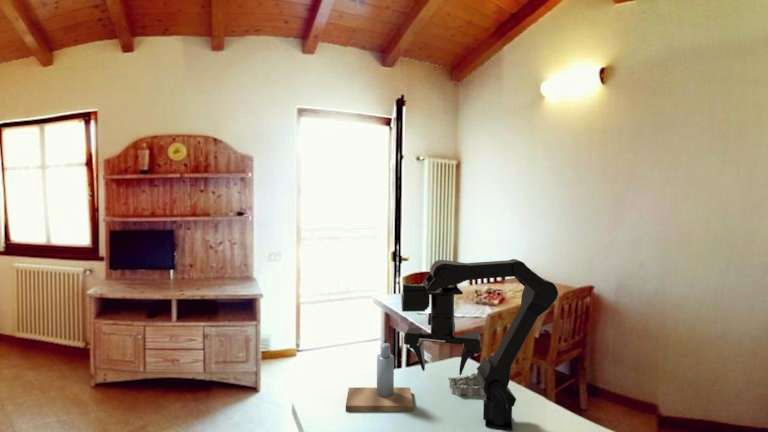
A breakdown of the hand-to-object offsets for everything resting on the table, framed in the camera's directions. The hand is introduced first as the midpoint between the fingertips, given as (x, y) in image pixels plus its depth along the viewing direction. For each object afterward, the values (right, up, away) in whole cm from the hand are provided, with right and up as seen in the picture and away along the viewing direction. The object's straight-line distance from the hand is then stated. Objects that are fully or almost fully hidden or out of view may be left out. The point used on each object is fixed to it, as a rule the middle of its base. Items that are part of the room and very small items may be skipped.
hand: (441, 372), depth 98 cm
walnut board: (-16, -13, +11) cm, 23 cm away
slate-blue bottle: (-14, -11, +13) cm, 22 cm away
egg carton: (+10, -13, +17) cm, 24 cm away
